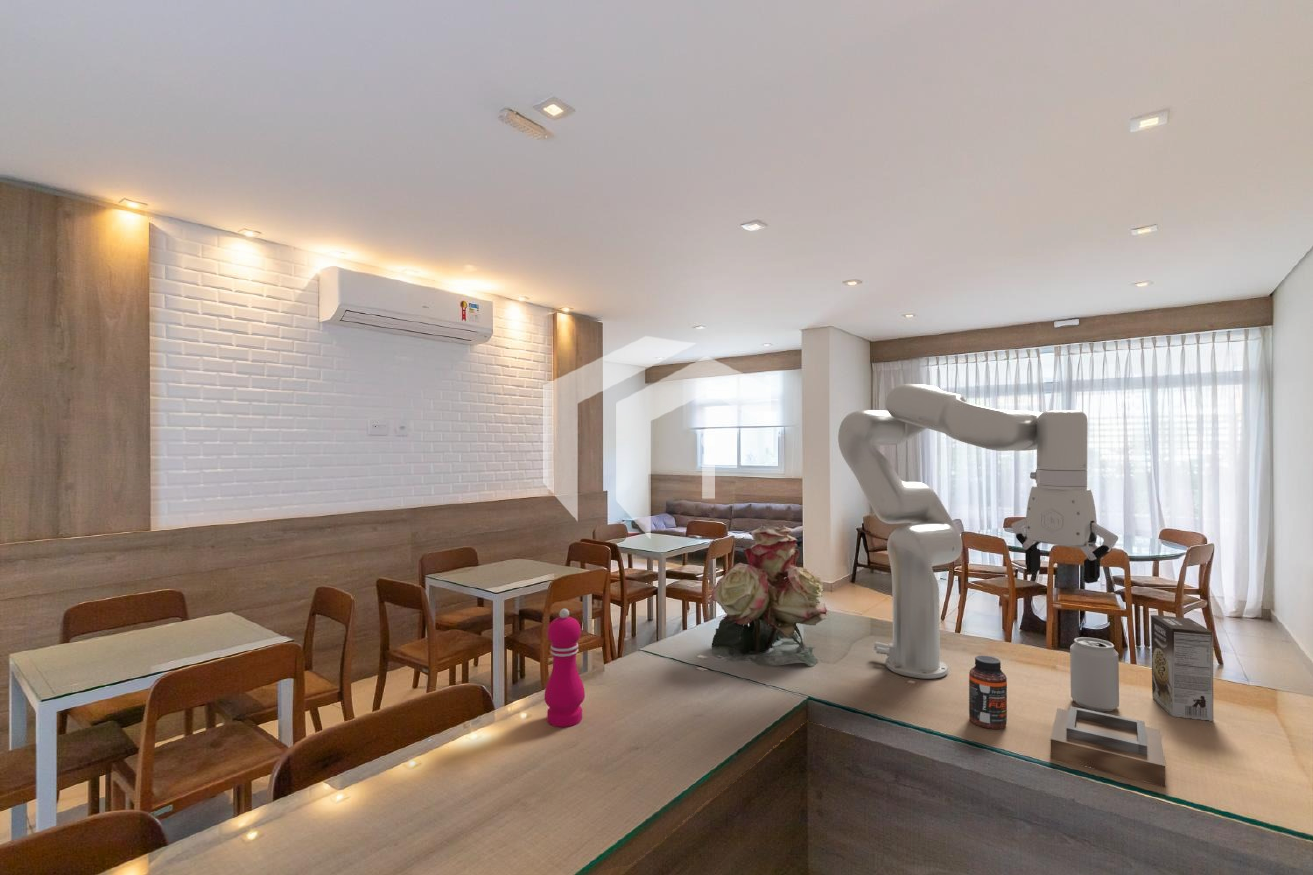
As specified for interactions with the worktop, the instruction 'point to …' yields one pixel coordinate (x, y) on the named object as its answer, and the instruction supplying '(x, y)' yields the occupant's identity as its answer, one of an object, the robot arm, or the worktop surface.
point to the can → (1094, 674)
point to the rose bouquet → (768, 603)
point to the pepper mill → (564, 673)
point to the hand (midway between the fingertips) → (1061, 576)
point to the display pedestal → (1108, 744)
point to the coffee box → (1182, 667)
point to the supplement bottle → (988, 693)
